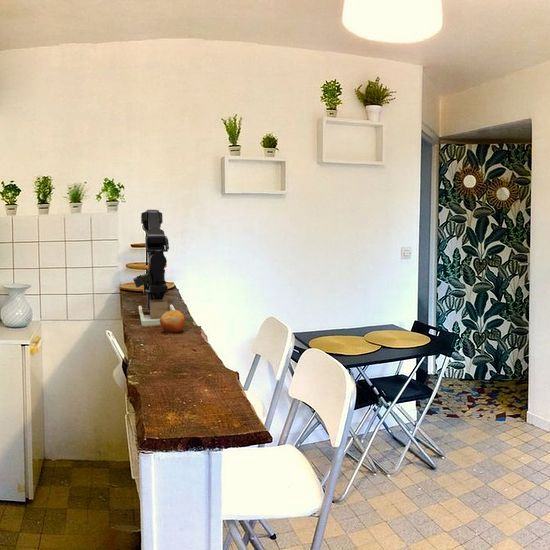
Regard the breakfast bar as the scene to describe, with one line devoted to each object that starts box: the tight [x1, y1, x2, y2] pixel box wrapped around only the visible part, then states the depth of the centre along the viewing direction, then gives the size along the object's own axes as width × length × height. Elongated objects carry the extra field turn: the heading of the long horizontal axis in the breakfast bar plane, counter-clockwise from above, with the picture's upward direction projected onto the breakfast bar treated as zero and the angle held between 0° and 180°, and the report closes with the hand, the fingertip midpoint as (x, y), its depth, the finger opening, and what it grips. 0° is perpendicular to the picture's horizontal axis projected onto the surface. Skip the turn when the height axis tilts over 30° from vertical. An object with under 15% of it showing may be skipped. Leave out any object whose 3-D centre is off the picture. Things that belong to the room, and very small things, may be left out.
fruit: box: [160, 309, 186, 334], centre depth 168 cm, size 8×8×8 cm
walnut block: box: [149, 298, 169, 319], centre depth 187 cm, size 6×6×6 cm
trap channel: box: [138, 304, 176, 327], centre depth 189 cm, size 30×13×2 cm, turn 17°
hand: (157, 308), depth 192 cm, fingers closed
